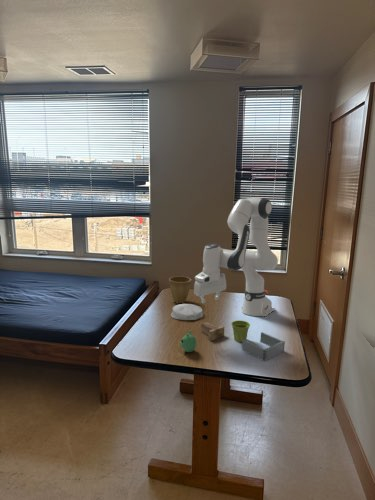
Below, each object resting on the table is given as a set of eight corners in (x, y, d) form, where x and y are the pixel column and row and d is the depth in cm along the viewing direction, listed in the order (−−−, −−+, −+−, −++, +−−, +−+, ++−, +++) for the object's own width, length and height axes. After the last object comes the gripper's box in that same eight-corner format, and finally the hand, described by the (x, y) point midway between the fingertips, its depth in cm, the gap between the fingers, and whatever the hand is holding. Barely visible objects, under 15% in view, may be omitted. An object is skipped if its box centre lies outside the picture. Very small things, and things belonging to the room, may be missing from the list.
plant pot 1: (182, 307, 221) (183, 283, 218) (164, 302, 229) (164, 279, 226) (195, 300, 233) (195, 278, 230) (177, 296, 241) (177, 275, 238)
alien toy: (182, 346, 167) (183, 327, 165) (197, 349, 165) (198, 329, 163) (178, 353, 161) (178, 333, 159) (193, 356, 158) (194, 335, 157)
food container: (181, 307, 222) (181, 297, 221) (209, 313, 212) (209, 302, 210) (164, 317, 205) (164, 307, 204) (193, 324, 195) (192, 313, 194)
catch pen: (261, 341, 174) (262, 332, 173) (284, 351, 164) (284, 341, 163) (242, 349, 165) (242, 340, 164) (264, 361, 155) (265, 350, 154)
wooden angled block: (210, 329, 188) (210, 320, 187) (224, 335, 180) (224, 326, 179) (196, 333, 182) (197, 325, 181) (210, 340, 174) (210, 331, 173)
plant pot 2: (245, 345, 169) (245, 329, 168) (227, 340, 174) (228, 325, 173) (252, 338, 177) (252, 322, 176) (235, 334, 182) (236, 319, 180)
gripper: (221, 271, 184) (220, 295, 187) (192, 277, 172) (191, 303, 174) (229, 273, 180) (228, 298, 182) (200, 280, 167) (199, 306, 169)
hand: (210, 301), depth 178 cm, fingers open, 8 cm apart
